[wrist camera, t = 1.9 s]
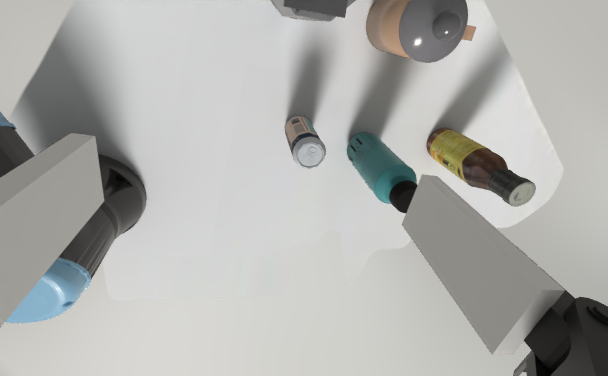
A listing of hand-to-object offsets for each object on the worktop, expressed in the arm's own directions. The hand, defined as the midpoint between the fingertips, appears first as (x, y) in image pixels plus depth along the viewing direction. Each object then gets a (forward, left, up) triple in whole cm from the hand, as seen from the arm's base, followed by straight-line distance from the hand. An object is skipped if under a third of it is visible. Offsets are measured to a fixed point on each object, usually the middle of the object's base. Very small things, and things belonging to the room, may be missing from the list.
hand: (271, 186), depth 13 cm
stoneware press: (+22, +8, -39) cm, 46 cm away
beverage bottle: (+20, -12, -40) cm, 46 cm away
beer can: (+8, -9, -40) cm, 42 cm away
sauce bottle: (+36, -9, -40) cm, 55 cm away
